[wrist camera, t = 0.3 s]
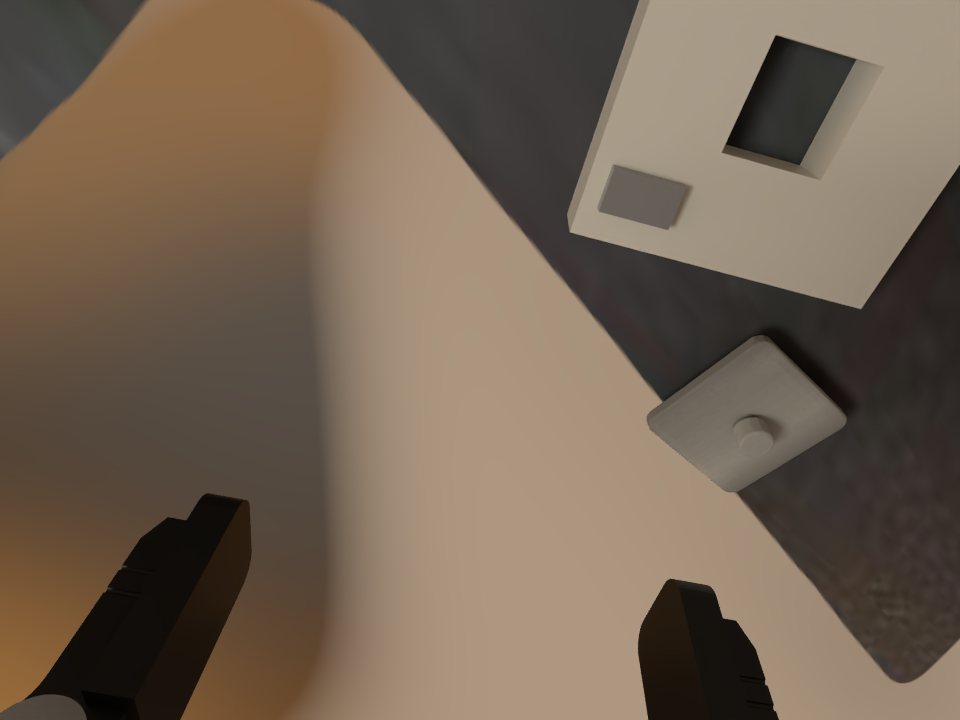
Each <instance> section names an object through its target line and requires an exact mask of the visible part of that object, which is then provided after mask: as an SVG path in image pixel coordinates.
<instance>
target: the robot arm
mask: <svg viewBox="0 0 960 720" xmlns="http://www.w3.org/2000/svg"><path fill="white" fill-rule="evenodd" d="M251 553H252V549H251V526H250V507H249V502H248V501H247V500H243V499H237V498H232V497H226V496H221V495H215V494H210V493H206V494H205V495H203V496H202V497H201V499H200V500H199V501H198V503H197V504H196V506H195V508H194V509H193V511H192V512H191V514H190V516H189V517H188V519H187V520H180V519H175V518H169V517H168V518H166V519H165V520H164V521H163V522H161V523H160V524H159V525H157V526H156V527H155V528H153V529H152V530H151V531H150V532H148V533H147V534H146V535H144V536H143V537H142V538H141V539H140V540H139V542H138V543H137V545H136V546H135V547H134V549H133V550H132V552H131V553H130V555H129V556H128V558H127V559H126V561H125V562H124V563H123V567H122V569H121V570H119V571H118V572H117V574H116V575H115V577H114V578H113V580H112V581H111V583H110V584H109V586H108V589H107V591H106V592H105V593H103V594H102V596H101V597H100V599H99V600H98V601H97V603H96V604H95V606H94V607H93V609H92V610H91V612H90V613H89V615H88V616H87V618H86V619H85V621H84V622H83V623H82V625H81V626H80V628H79V629H78V631H77V632H76V634H75V635H74V636H73V638H72V639H71V641H70V643H69V644H68V645H67V647H66V648H65V650H64V651H63V653H62V654H61V656H60V657H59V658H58V660H57V661H56V663H55V664H54V666H53V667H52V669H51V670H50V672H49V673H48V674H47V676H46V677H45V679H44V680H43V681H42V682H41V684H40V685H39V686H38V687H37V688H36V689H35V690H34V691H33V692H32V693H31V694H30V695H29V696H28V697H27V698H25V699H24V700H23V701H21V702H19V703H16V704H14V705H12V706H11V707H9V708H7V709H6V710H4V711H2V712H1V713H0V720H180V719H181V717H182V715H183V713H184V710H185V709H186V706H187V704H188V702H189V700H190V698H191V696H192V693H193V691H194V689H195V687H196V685H197V683H198V681H199V678H200V676H201V674H202V672H203V670H204V668H205V665H206V664H207V661H208V659H209V657H210V655H211V653H212V651H213V648H214V646H215V644H216V642H217V640H218V638H219V636H220V634H221V631H222V629H223V627H224V625H225V623H226V621H227V619H228V616H229V614H230V612H231V610H232V608H233V606H234V604H235V601H236V599H237V597H238V595H239V593H240V590H241V588H242V586H243V584H244V582H245V579H246V576H247V573H248V570H249V565H250V561H251ZM638 655H639V662H640V668H641V675H642V681H643V688H644V694H645V701H646V707H647V714H648V720H779V719H778V716H777V713H776V711H774V710H773V705H774V704H773V701H772V698H771V695H770V692H769V689H768V686H766V685H765V676H764V673H763V670H762V667H761V664H760V661H759V658H758V655H757V652H756V649H755V648H754V646H753V645H752V643H751V642H750V640H749V639H748V637H747V636H746V634H745V633H744V632H743V630H742V629H741V627H740V626H739V624H738V623H737V622H736V621H734V620H729V619H723V617H722V614H721V611H720V607H719V604H718V600H717V597H716V594H715V592H714V591H713V589H712V588H711V587H710V586H708V585H703V584H697V583H691V582H686V581H681V580H675V579H669V580H667V581H666V583H665V584H664V586H663V588H662V590H661V591H660V593H659V595H658V596H657V598H656V600H655V601H654V603H653V605H652V607H651V608H650V610H649V612H648V614H647V615H646V617H645V619H644V621H643V623H642V625H641V628H640V634H639V640H638Z"/></svg>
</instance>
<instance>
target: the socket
mask: <svg viewBox="0 0 960 720" xmlns="http://www.w3.org/2000/svg"><path fill="white" fill-rule="evenodd" d="M775 35H776V36H779V37H783V38H786V39H789V40H793V41H796V42H799V43H803V44H806V45H810V46H813V47H816V48H820V49H823V50H826V51H830V52H833V53H837V54H840V55H843V56H847V57H850V58H853V59H856V61H855V63H854V65H853V67H852V69H851V71H850V73H849V74H848V76H847V78H846V80H845V82H844V84H843V86H842V87H841V89H840V91H839V93H838V95H837V97H836V99H835V100H834V102H833V104H832V106H831V108H830V110H829V112H828V114H827V115H826V117H825V119H824V121H823V123H822V125H821V127H820V128H819V130H818V132H817V134H816V136H815V138H814V140H813V141H812V143H811V145H810V147H809V149H808V151H807V153H806V155H805V156H804V158H803V160H802V162H801V164H800V165H797V164H794V163H790V162H786V161H783V160H779V159H776V158H772V157H769V156H765V155H762V154H758V153H754V152H751V151H747V150H744V149H740V148H737V147H733V146H729V145H726V142H727V140H728V137H729V135H730V133H731V131H732V129H733V127H734V124H735V122H736V120H737V118H738V116H739V113H740V111H741V109H742V107H743V105H744V103H745V100H746V98H747V96H748V94H749V92H750V90H751V87H752V85H753V83H754V81H755V79H756V76H757V74H758V72H759V70H760V68H761V66H762V63H763V61H764V59H765V57H766V55H767V53H768V50H769V48H770V46H771V44H772V42H773V39H774V37H775ZM959 165H960V0H639V3H638V6H637V9H636V12H635V15H634V18H633V21H632V24H631V27H630V30H629V32H628V35H627V38H626V41H625V44H624V47H623V50H622V53H621V56H620V59H619V62H618V65H617V68H616V71H615V74H614V77H613V80H612V83H611V86H610V89H609V92H608V95H607V98H606V101H605V104H604V106H603V109H602V112H601V115H600V118H599V121H598V124H597V127H596V130H595V133H594V136H593V139H592V142H591V145H590V148H589V151H588V154H587V157H586V160H585V163H584V166H583V169H582V172H581V175H580V178H579V180H578V183H577V186H576V189H575V192H574V195H573V198H572V201H571V204H570V207H569V210H568V213H567V217H568V224H569V231H570V232H571V233H575V234H579V235H582V236H586V237H590V238H594V239H598V240H601V241H605V242H609V243H613V244H616V245H620V246H624V247H628V248H632V249H635V250H639V251H643V252H647V253H650V254H654V255H658V256H662V257H666V258H669V259H673V260H677V261H681V262H685V263H688V264H692V265H696V266H700V267H703V268H707V269H711V270H715V271H719V272H722V273H726V274H730V275H734V276H738V277H741V278H745V279H749V280H753V281H756V282H760V283H764V284H768V285H772V286H775V287H779V288H783V289H787V290H791V291H794V292H798V293H802V294H806V295H809V296H813V297H817V298H821V299H825V300H828V301H832V302H836V303H840V304H843V305H847V306H851V307H855V308H859V309H861V308H862V307H863V306H864V304H865V303H866V301H867V300H868V298H869V297H870V295H871V294H872V292H873V291H874V289H875V288H876V287H877V285H878V284H879V282H880V281H881V279H882V278H883V276H884V275H885V273H886V272H887V270H888V269H889V267H890V266H891V265H892V263H893V262H894V260H895V259H896V257H897V256H898V254H899V253H900V251H901V250H902V248H903V247H904V246H905V244H906V243H907V241H908V240H909V238H910V237H911V235H912V234H913V232H914V231H915V229H916V228H917V227H918V225H919V224H920V222H921V221H922V219H923V218H924V216H925V215H926V213H927V212H928V210H929V209H930V208H931V206H932V205H933V203H934V202H935V200H936V199H937V197H938V196H939V194H940V193H941V191H942V190H943V188H944V187H945V186H946V184H947V183H948V181H949V180H950V178H951V177H952V175H953V174H954V172H955V171H956V169H957V168H958V167H959Z"/></svg>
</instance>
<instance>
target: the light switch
mask: <svg viewBox="0 0 960 720" xmlns="http://www.w3.org/2000/svg"><path fill="white" fill-rule="evenodd" d="M846 422H847V417H846V415H845V414H844V412H843V410H842V409H841V408H840V407H839V406H838V405H837V404H836V403H835V402H834V401H833V400H832V399H831V398H830V397H829V396H828V395H827V394H826V393H825V392H824V391H823V390H822V389H821V388H820V387H819V386H818V385H817V384H816V383H814V382H813V381H812V380H811V379H810V378H809V377H808V376H807V375H806V374H805V373H804V372H803V371H802V370H801V369H800V368H799V367H798V366H797V365H796V364H795V363H794V362H793V361H792V360H791V359H790V358H789V357H788V356H787V355H786V354H785V353H784V352H783V351H782V350H781V349H780V348H779V347H778V346H777V345H776V344H775V343H774V342H773V341H772V340H771V339H770V338H769V337H767V336H764V335H759V336H753V337H752V338H750V339H749V340H747V341H746V342H745V343H743V344H742V345H741V346H739V347H738V348H737V349H735V350H734V351H732V352H731V353H730V354H728V355H727V356H726V357H724V358H723V359H722V360H720V361H719V362H717V363H716V364H715V365H713V366H712V367H711V368H709V369H708V370H706V371H705V372H704V373H702V374H701V375H700V376H698V377H697V378H696V379H694V380H693V381H691V382H690V383H689V384H687V385H686V386H685V387H683V388H682V389H681V390H679V391H678V392H676V393H675V394H674V395H672V396H671V397H670V398H668V399H667V400H665V401H664V402H663V403H661V404H660V405H659V406H657V407H656V408H655V409H653V410H652V411H650V412H649V414H648V415H647V423H648V425H649V428H650V430H651V431H652V432H654V433H655V434H656V435H657V436H659V437H660V438H661V439H662V440H663V441H665V442H666V443H667V444H668V445H669V446H670V447H672V448H673V449H674V450H675V451H676V452H678V453H679V454H680V455H681V456H683V457H684V458H685V459H686V460H687V461H689V462H690V463H691V464H692V465H694V466H695V467H696V468H697V469H698V470H700V471H701V472H702V473H703V474H704V475H706V476H707V477H708V478H709V479H711V480H712V481H713V482H714V483H716V484H717V485H718V486H719V487H720V488H722V489H723V490H724V491H726V492H737V491H739V490H741V489H743V488H744V487H746V486H748V485H749V484H751V483H753V482H754V481H756V480H758V479H759V478H761V477H763V476H764V475H766V474H767V473H769V472H771V471H772V470H774V469H776V468H777V467H779V466H781V465H782V464H784V463H786V462H787V461H789V460H791V459H792V458H794V457H795V456H797V455H799V454H800V453H802V452H804V451H805V450H807V449H809V448H810V447H812V446H814V445H815V444H817V443H819V442H820V441H822V440H823V439H825V438H827V437H828V436H830V435H832V434H833V433H835V432H837V431H838V430H840V429H842V428H843V427H844V426H845V424H846Z"/></svg>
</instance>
